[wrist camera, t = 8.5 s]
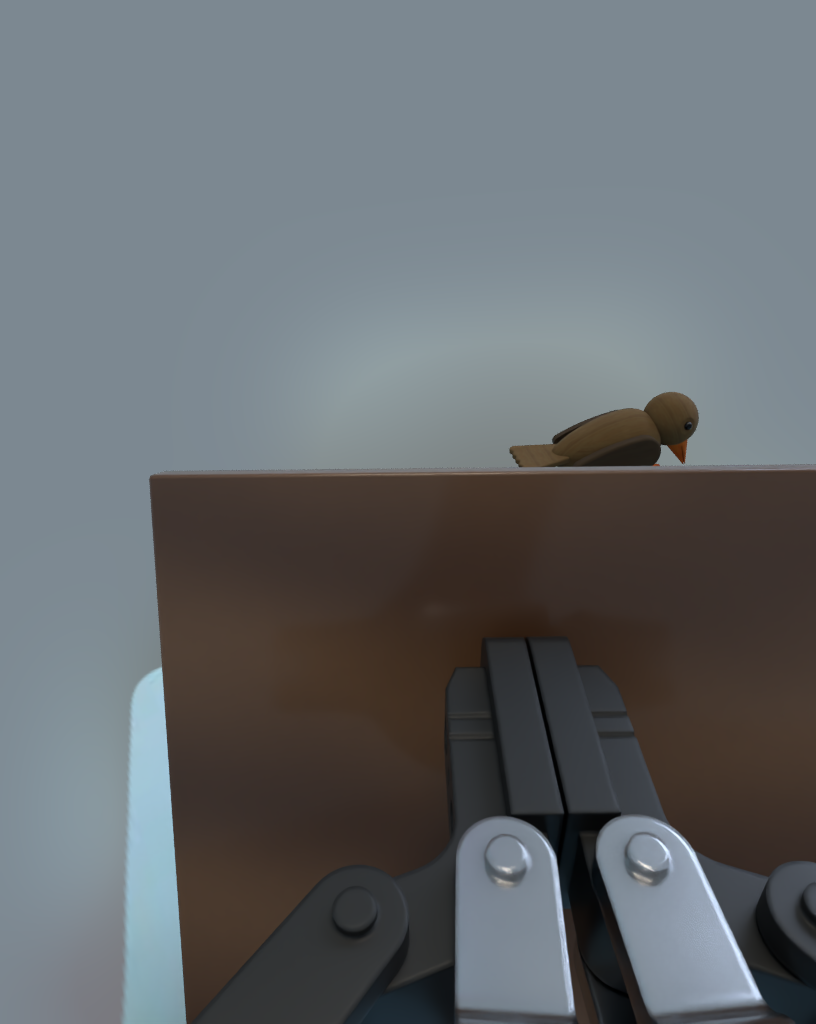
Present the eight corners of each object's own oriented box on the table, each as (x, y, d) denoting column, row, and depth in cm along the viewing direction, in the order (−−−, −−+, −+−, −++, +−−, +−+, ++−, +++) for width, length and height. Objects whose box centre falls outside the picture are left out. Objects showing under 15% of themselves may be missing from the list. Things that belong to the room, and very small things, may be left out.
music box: (573, 838, 34) (605, 453, 25) (458, 701, 43) (451, 380, 34) (790, 725, 40) (880, 380, 31) (649, 625, 48) (687, 334, 39)
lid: (162, 470, 13) (147, 475, 12) (856, 463, 13) (884, 467, 12) (205, 1119, 16) (194, 1158, 15) (796, 1113, 16) (818, 1151, 15)
